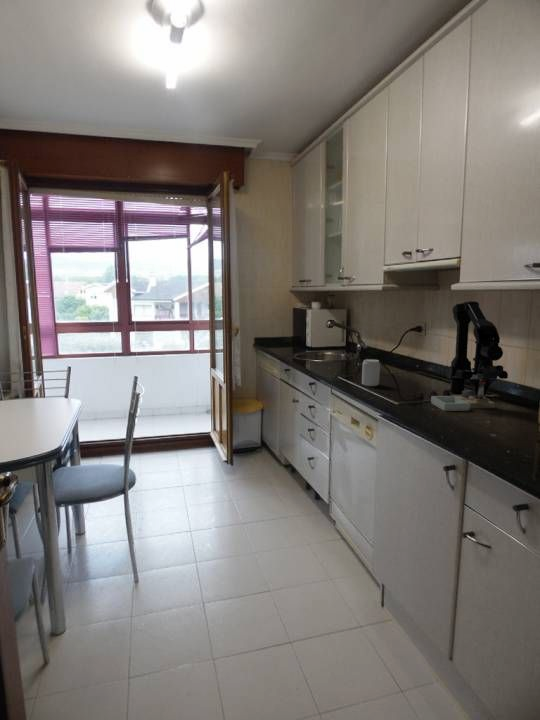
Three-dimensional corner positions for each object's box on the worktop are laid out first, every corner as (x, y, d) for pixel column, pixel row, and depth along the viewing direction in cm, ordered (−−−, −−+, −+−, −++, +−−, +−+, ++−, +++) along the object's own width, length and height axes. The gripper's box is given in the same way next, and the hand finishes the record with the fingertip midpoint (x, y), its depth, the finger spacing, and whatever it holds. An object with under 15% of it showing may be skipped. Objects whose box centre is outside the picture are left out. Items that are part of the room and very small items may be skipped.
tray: (430, 402, 184) (431, 396, 184) (454, 402, 185) (455, 395, 184) (444, 410, 172) (444, 403, 172) (469, 410, 173) (469, 403, 173)
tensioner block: (453, 399, 190) (454, 388, 189) (476, 399, 191) (477, 388, 190) (470, 408, 176) (471, 397, 175) (494, 408, 177) (495, 396, 176)
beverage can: (371, 382, 222) (372, 358, 220) (382, 385, 215) (383, 361, 213) (358, 384, 218) (359, 359, 216) (368, 387, 211) (370, 362, 209)
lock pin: (472, 399, 181) (473, 379, 179) (481, 398, 181) (482, 379, 180) (477, 401, 177) (478, 381, 176) (486, 401, 177) (488, 381, 176)
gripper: (470, 359, 167) (467, 400, 170) (518, 359, 169) (514, 400, 171) (456, 355, 178) (453, 393, 181) (501, 355, 180) (497, 393, 182)
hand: (479, 395), depth 179 cm, fingers closed on lock pin, 3 cm apart
